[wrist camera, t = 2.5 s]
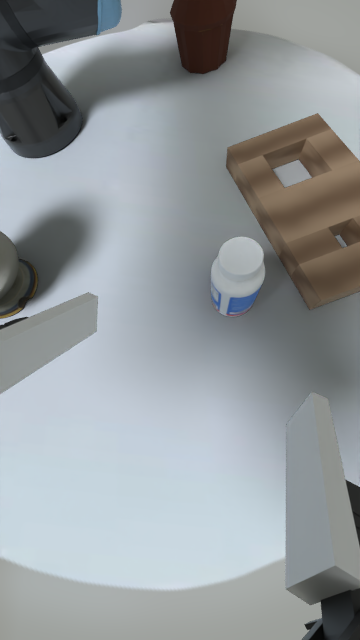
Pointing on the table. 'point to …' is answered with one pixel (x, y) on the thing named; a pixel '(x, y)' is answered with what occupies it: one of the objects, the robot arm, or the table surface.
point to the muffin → (202, 32)
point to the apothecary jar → (14, 279)
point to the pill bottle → (237, 276)
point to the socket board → (305, 205)
